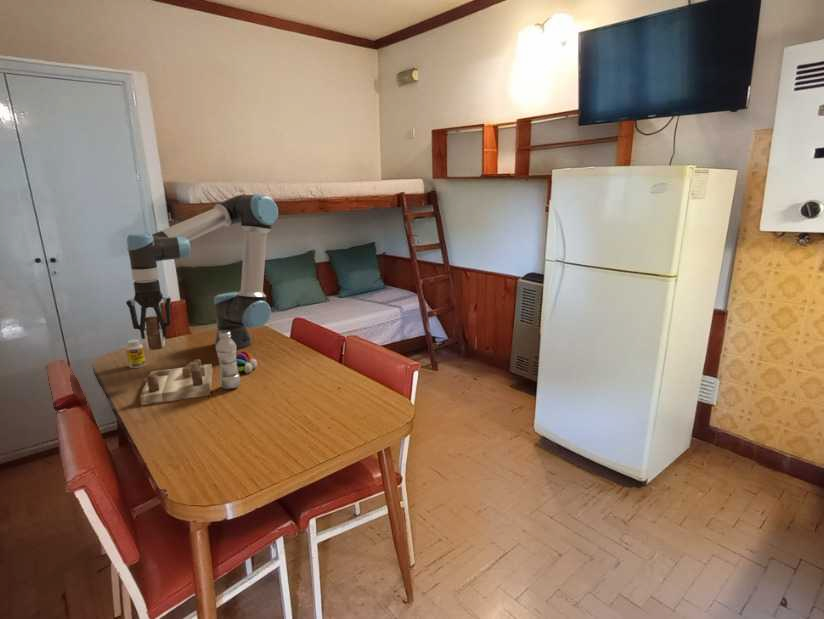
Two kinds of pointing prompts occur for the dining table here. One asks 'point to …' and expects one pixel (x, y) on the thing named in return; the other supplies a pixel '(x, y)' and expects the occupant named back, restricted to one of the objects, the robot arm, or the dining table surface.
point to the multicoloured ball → (245, 362)
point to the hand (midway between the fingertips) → (156, 346)
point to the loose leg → (153, 332)
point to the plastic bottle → (227, 361)
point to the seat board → (176, 385)
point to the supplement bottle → (135, 354)
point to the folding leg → (191, 367)
